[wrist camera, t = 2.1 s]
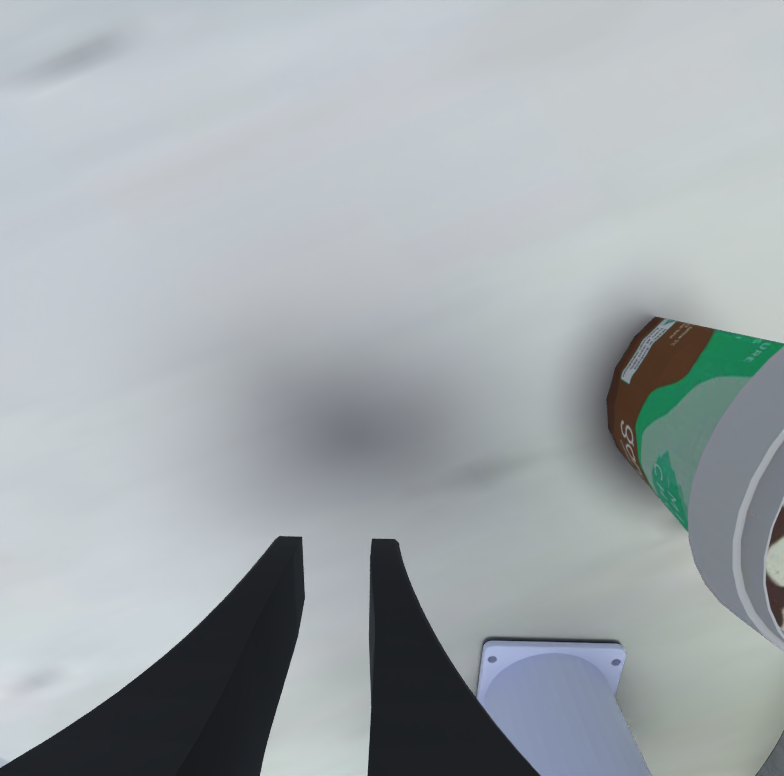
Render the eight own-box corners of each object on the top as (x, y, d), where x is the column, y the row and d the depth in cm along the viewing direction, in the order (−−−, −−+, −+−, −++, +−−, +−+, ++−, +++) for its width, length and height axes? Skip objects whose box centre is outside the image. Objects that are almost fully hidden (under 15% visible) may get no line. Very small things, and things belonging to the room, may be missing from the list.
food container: (523, 390, 20) (640, 530, 11) (635, 291, 19) (886, 352, 9) (676, 545, 23) (876, 764, 13) (784, 470, 21) (1094, 658, 12)
